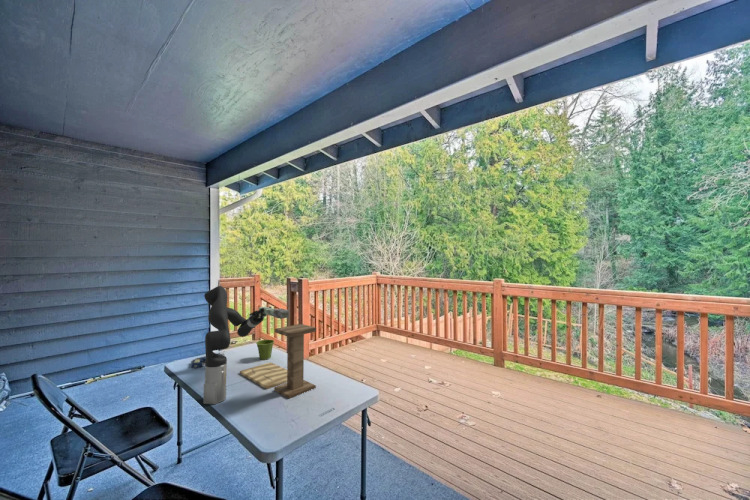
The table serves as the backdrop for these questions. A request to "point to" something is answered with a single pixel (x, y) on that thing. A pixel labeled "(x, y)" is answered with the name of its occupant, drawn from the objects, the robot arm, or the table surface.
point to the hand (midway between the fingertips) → (267, 308)
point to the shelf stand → (295, 360)
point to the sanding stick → (276, 312)
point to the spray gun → (200, 361)
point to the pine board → (266, 375)
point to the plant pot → (265, 348)
